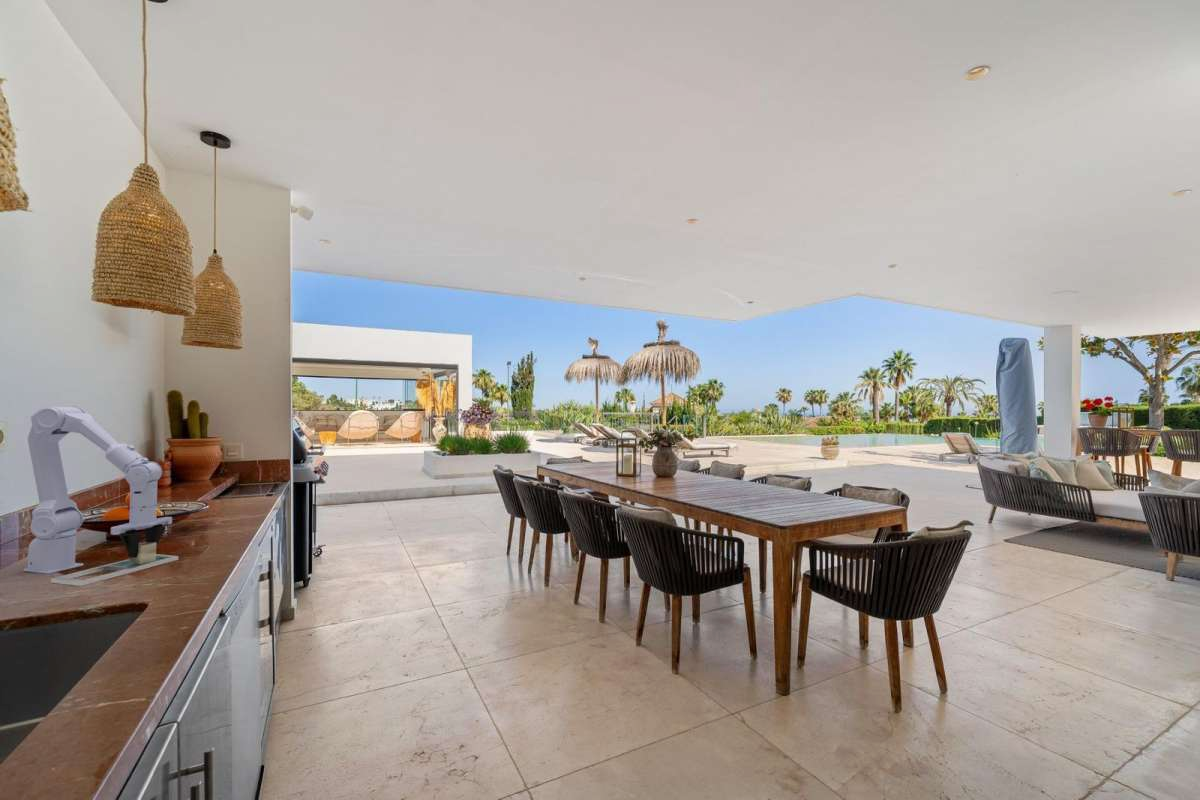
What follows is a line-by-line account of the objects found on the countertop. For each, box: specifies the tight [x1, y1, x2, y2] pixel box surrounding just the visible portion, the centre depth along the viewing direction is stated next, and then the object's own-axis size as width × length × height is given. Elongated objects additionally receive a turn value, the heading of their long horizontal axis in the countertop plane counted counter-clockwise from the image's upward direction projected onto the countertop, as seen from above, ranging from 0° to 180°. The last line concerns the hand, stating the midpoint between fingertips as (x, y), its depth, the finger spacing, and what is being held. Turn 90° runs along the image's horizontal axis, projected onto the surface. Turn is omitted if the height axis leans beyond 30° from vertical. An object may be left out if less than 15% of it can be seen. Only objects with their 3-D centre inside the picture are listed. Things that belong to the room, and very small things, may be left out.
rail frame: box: [50, 553, 179, 587], centre depth 141 cm, size 10×24×1 cm, turn 167°
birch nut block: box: [128, 541, 157, 564], centre depth 146 cm, size 4×4×5 cm
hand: (141, 555), depth 146 cm, fingers closed on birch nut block, 4 cm apart
